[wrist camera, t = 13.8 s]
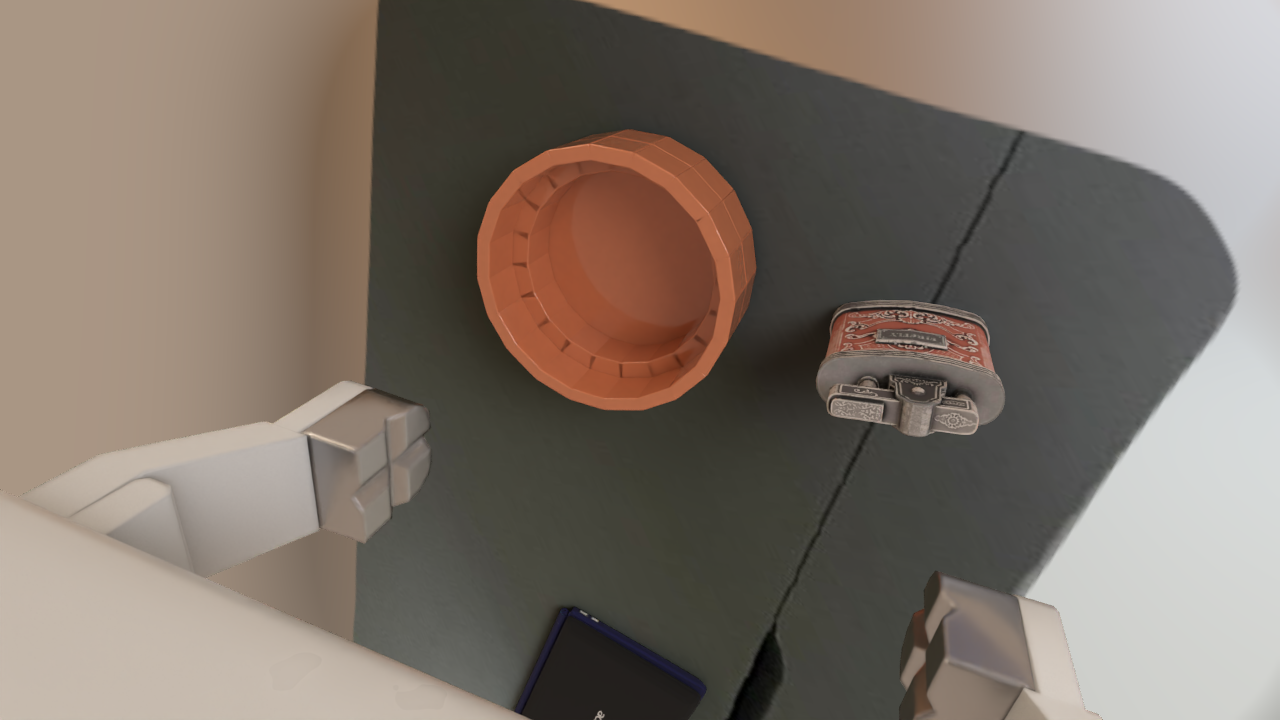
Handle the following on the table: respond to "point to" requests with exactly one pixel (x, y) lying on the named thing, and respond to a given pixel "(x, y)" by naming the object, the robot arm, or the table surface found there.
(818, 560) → the table surface
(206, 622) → the robot arm
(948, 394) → the lighter
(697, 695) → the laptop
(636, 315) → the bowl
